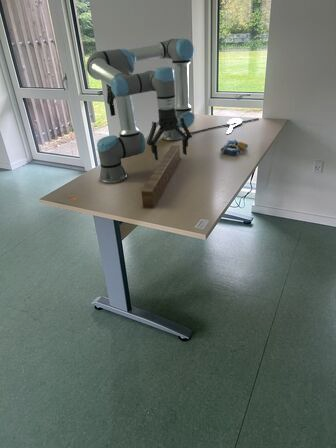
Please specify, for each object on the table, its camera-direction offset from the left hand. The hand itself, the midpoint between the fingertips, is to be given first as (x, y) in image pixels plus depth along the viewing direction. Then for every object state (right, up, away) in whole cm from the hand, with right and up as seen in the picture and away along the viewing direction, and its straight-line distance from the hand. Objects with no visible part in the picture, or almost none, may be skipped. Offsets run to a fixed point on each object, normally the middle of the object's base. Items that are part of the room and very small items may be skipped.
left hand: (170, 156), depth 150 cm
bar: (-3, -6, +34) cm, 34 cm away
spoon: (+49, +45, +110) cm, 128 cm away
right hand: (-32, +35, +55) cm, 72 cm away
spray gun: (+42, +17, +65) cm, 79 cm away
